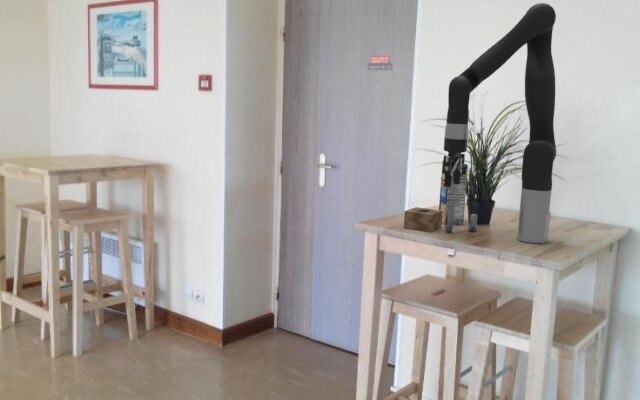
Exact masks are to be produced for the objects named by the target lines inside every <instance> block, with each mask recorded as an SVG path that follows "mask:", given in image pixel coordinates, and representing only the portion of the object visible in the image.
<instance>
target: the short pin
mask: <svg viewBox="0 0 640 400" xmlns="http://www.w3.org/2000/svg"><path fill="white" fill-rule="evenodd" d="M477 222H478V214H477V213H470V214H469V224H468V232H469V233H476V232H477V224H478V223H477Z"/></svg>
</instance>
